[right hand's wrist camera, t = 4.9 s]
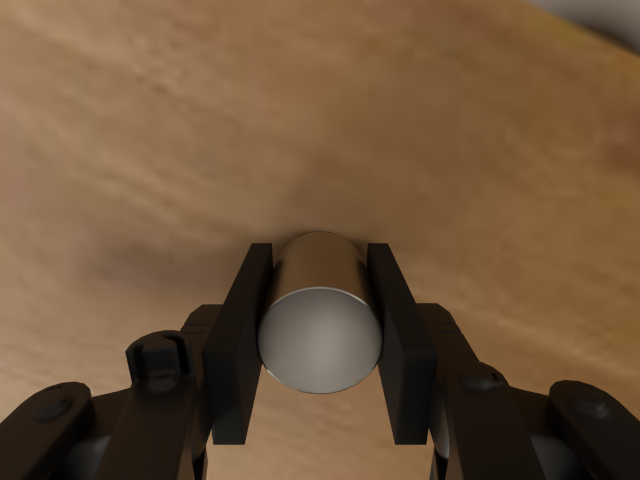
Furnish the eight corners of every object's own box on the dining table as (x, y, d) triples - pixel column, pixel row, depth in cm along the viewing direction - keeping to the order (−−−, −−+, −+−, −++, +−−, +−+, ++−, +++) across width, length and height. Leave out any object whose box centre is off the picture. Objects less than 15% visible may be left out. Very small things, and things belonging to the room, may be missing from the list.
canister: (370, 233, 14) (392, 289, 10) (361, 316, 16) (377, 398, 11) (274, 228, 14) (254, 283, 10) (273, 312, 16) (255, 392, 11)
